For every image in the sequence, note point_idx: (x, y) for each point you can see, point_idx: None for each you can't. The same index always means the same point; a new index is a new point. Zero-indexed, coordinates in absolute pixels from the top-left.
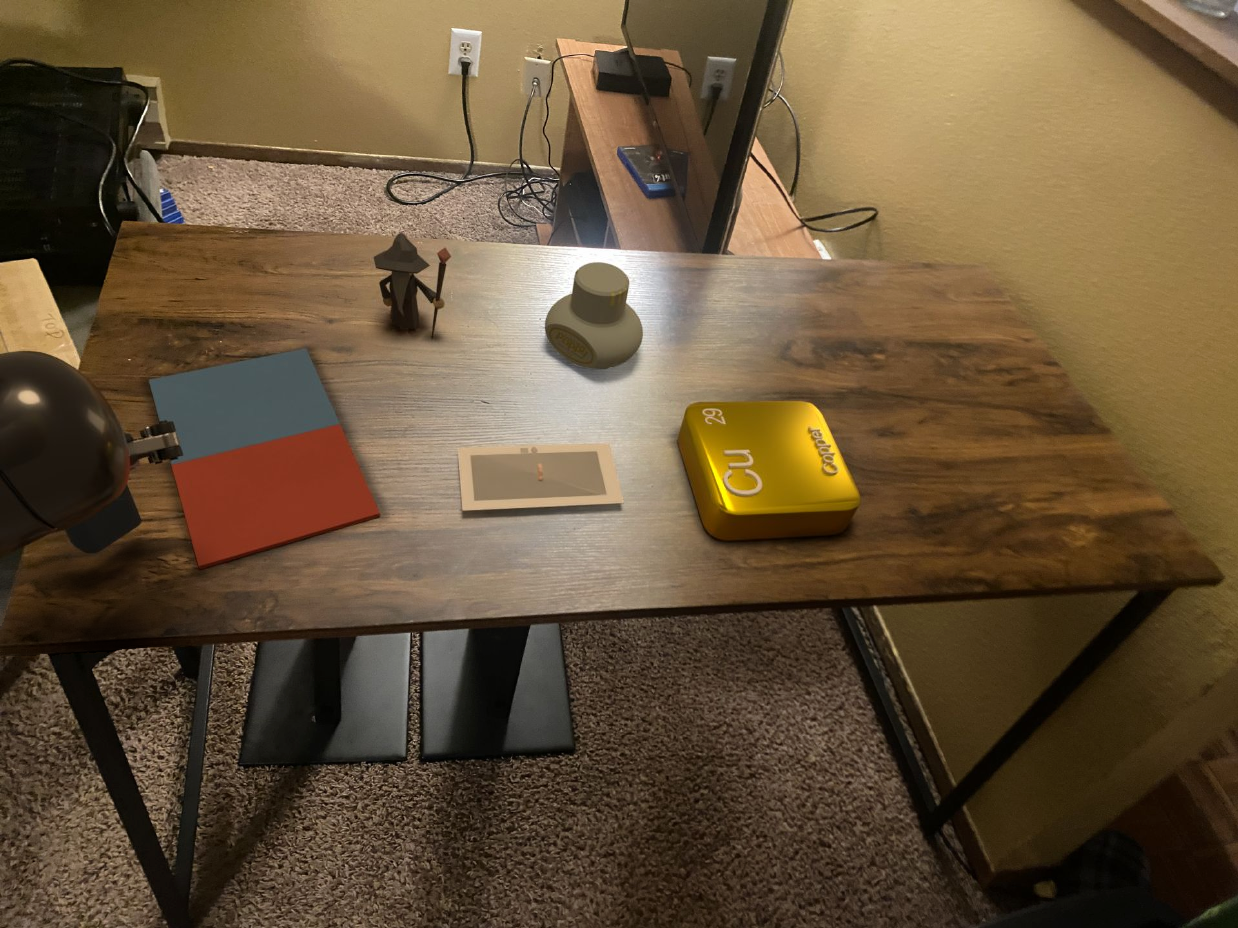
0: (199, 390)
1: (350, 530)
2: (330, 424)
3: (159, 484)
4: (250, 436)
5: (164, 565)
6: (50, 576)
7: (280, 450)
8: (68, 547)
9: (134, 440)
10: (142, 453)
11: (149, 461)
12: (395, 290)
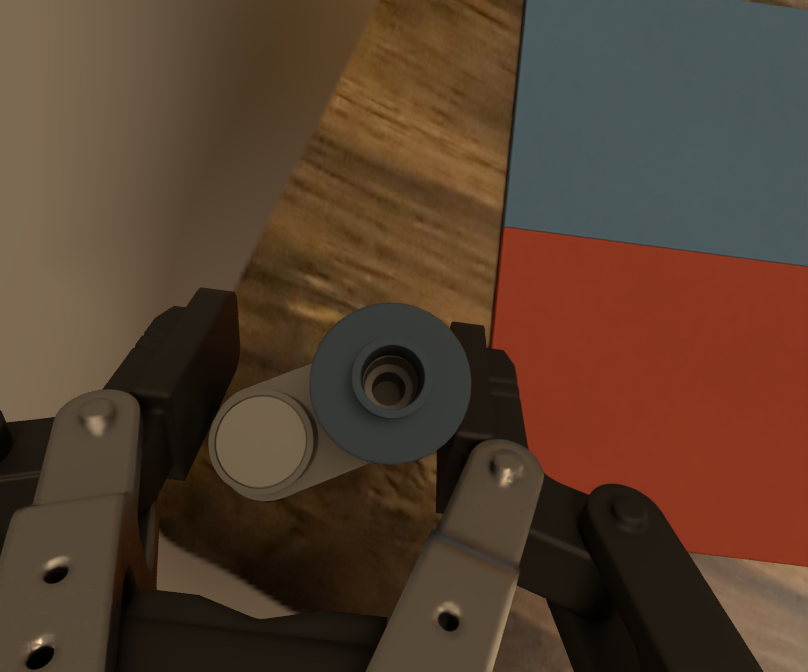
0: (614, 45)
1: (777, 574)
2: None
3: (466, 260)
4: (672, 222)
5: (415, 476)
6: (225, 397)
7: (717, 291)
8: (272, 341)
9: (550, 542)
10: (549, 589)
11: (554, 612)
12: None
